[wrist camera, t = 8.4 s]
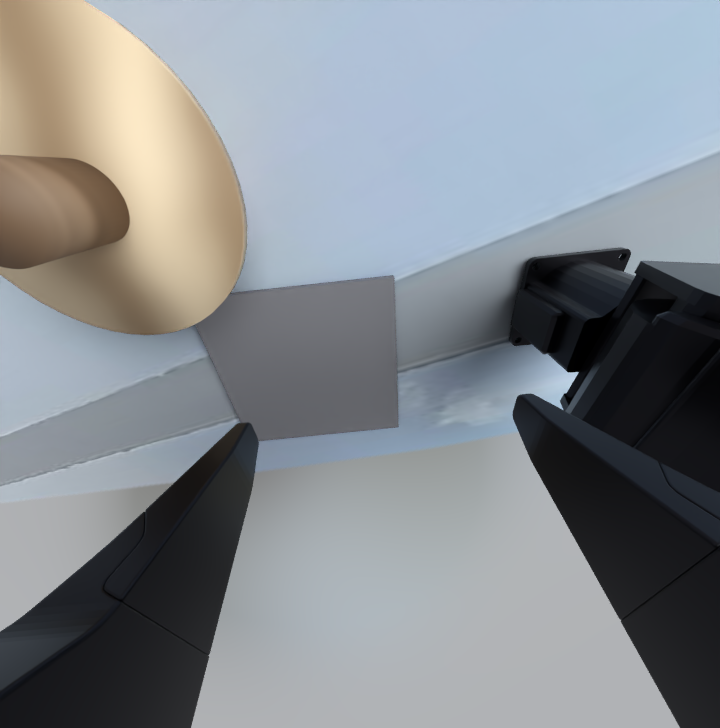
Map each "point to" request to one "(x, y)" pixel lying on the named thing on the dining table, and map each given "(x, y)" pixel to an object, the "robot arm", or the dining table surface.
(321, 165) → the dining table surface
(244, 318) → the rubber mat
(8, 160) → the oak lid
